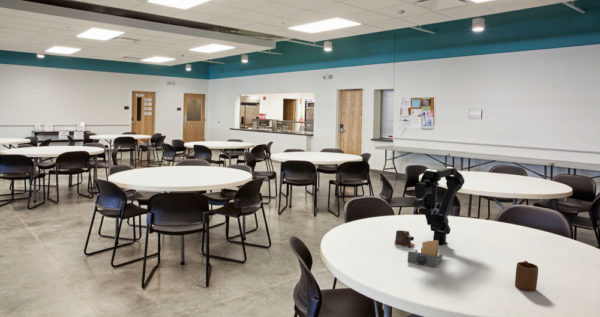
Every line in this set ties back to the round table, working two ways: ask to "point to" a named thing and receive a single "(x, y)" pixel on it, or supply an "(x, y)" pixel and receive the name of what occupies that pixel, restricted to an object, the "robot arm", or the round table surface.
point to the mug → (526, 276)
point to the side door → (430, 247)
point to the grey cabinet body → (424, 259)
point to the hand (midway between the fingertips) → (428, 224)
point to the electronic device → (404, 238)
